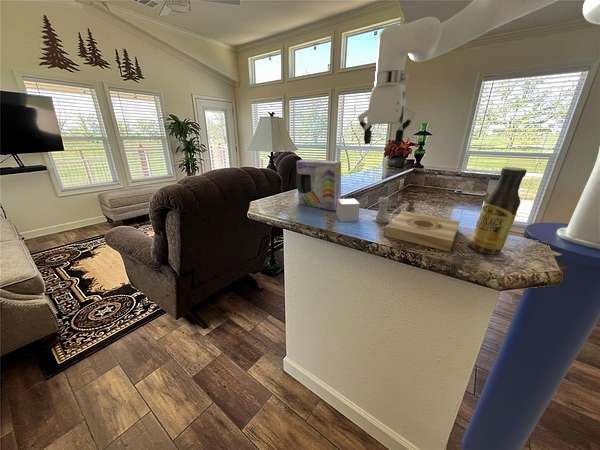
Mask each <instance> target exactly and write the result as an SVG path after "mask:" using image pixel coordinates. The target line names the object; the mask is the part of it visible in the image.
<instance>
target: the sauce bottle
mask: <svg viewBox="0 0 600 450" xmlns="http://www.w3.org/2000/svg"><path fill="white" fill-rule="evenodd" d="M527 171H528V170H527V169H526V168H523V167H514V166H504V167H502V168H501V171H500V173H499V174H500V176H499V179H498V182H497V183H496V187H495V189H494V190H493V191H492V192H491V193H490V194H489V195H488V196H487V198H486V200H485V202H484V203H483V205H482V208H481V210H480V214H479V216H478V219H477V222H476V226H475V228H474V231H473V234H472V237H471V243H470V247H471V248H472V249H473V250H475V251H476V252H479V253H482V254H485V255H499V254H500V253H501V251H502V249H504V247H505V244H506V241H507V239H508V237H509V234H510V231H511V229H512V227H513V224H514V223H515V222H514V221H515V220H516V217H517V214H518V213H517V212H518V209H519V208H520V206H521V197H520V195H519V190H520V186H521V183H522V181H523V179H524V177H526V175H527Z"/></svg>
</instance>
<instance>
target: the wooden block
mask: <svg viewBox="0 0 600 450" xmlns="http://www.w3.org/2000/svg"><path fill="white" fill-rule="evenodd" d="M460 222H461V221H460V220H457V219H452V218H451V219H450V218H445V217H439V216H434V215H428V214H421V213H416V212H409V211H404V210H401V212H400V213H398V214H397V215H396V216H395V217H394V218H393V219H392V220H391V221H390V222H389V223H388V224H386V226H385V230H384V237H387V238H391V239H396V240H399V241H404V242H407V243H413V244H416V245H421V246H425V247H427V248H433V249H437V250H440V251H444V252H448V253H449V252H451V250H452V247H453V244H454V242H455V238H456V236H457V233H458V231H459V226H460Z"/></svg>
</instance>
